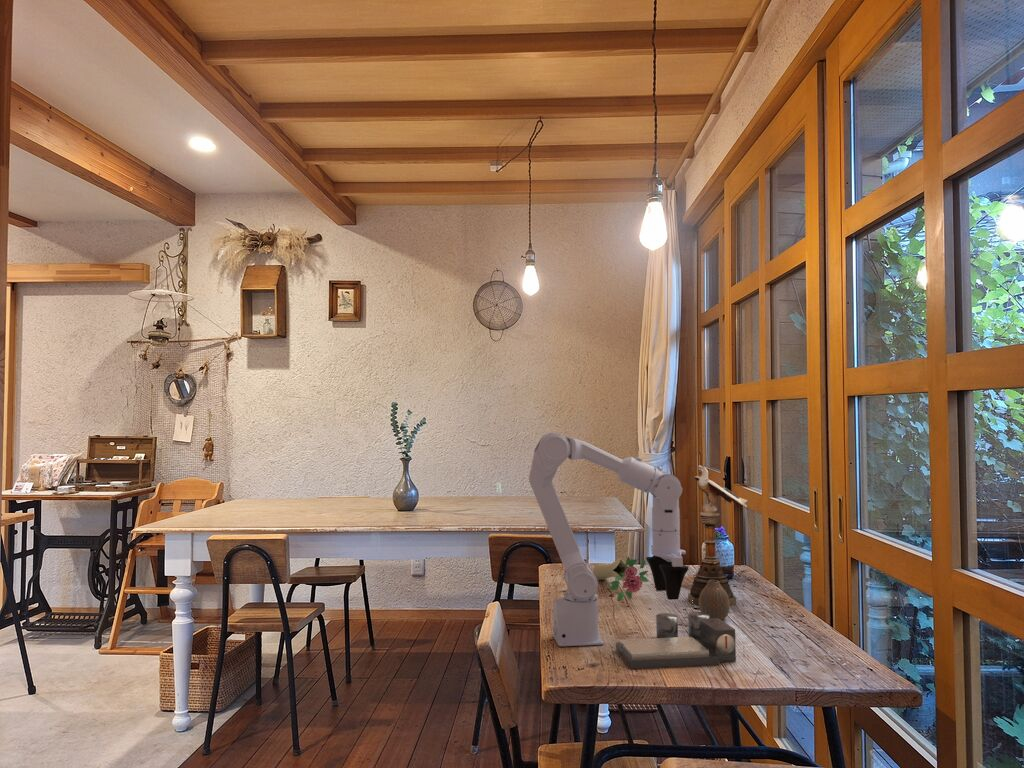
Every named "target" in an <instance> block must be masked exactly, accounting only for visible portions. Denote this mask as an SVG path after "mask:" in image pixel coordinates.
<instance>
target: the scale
mask: <svg viewBox="0 0 1024 768" xmlns="http://www.w3.org/2000/svg"><path fill="white" fill-rule="evenodd" d="M615 651H616V652H617V653H618V655H619V656H620V658H621V659H622V660H623V661H624V662H625V664H626V665H627V666H628V668H630V670H640V669H641V670H642V669H643V670H645V669H663V668H665V669H666V668H683V667H685V668H687V667H701V666H703V667H704V666H707V667H708V666H719V665H720V663H730V662H731V663H732V662H734V663H735V662H736V661H737V647H736V629H735V628H733V626H731V625H729V624H728V623H726V622H725V621H724V620H720V619H719V618H713V619H700V641H699V640H698V639H694V638H693V637H689V636H681V637H680V636H678V637H674V638H657V637H655V638H630V639H619V642H615Z"/></svg>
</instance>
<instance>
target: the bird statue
mask: <svg viewBox="0 0 1024 768" xmlns="http://www.w3.org/2000/svg"><path fill="white" fill-rule="evenodd" d="M697 469H698V470H699V471H700V472H701V475H700V476H699V475H696V476H694V477H693V478H694V480H696V481H697V486H698V487H699V489H700V490H701V492H703V493H704V494H705V495H706V500H707V501H708V502H707V503H704V504H703V506H702V507H701V509H702V511H701V512H699V516H700V517H701V518H700V523H701V524H703V525H704V526H703V528H704V533H705V535H704V541H703V542H704V544H705V556H704V557H703V558H702V559H701V561H700V562H701V564H700V566H699V568H698V571H697V573H695V576H694V577H693V582H692V585H691V588H690V591H689V592H688V593H687V594H688V595H687V600H688V599H689V600H690V601H689V600H688V601H689V602H690V604H692V602H693V604H692V605H694V604H696V605H695V606H699V597H700V594H701V592H702V590H703V589H704V587H705V586H706V585H707V583H708V581H709V580H718V581H719V583H720V585H721V586H722V588H723V589H724V590H725V591H726V593H727V595H728V598H729V602H730V607H731V606H735V605H737V596H735V595H734V593H733V591H732V589H731V585H730V583H729V582H730V580H728V578H727V577H728V576H727V575H726V574H725V573H724V571H723V569H722V567H721V561H720V559H718V558H717V556H716V544H717V543H718V542H717V540H716V527H717V525H718V524H719V522H720V521H719V520H720V519H719V518H720V516H721V513H719V512H718V507H717V503H718V499H719V498H718V497H719V496H720V497H721V498H723V499H724V500H725V501H726V502H727V503H730V504H731V503H732V502H733V503H736V504H739V505H741V506H743V508H744V509H748V506H747V503H748V502H749V501H748V500H747V499H746V498H742V497H739V496H738V495H736V494H735V493H734V492H732V491H731V490H729V489H728V488H727V487H722V486H720V485H718V484H717V483H716V482H715V481H713V480H711V479H709V477H710V475H709V471H708V469H707V467H705V466H703V465H700V464H699V465H697ZM692 600H693V601H692Z"/></svg>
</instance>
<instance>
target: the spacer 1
mask: <svg viewBox="0 0 1024 768" xmlns="http://www.w3.org/2000/svg"><path fill="white" fill-rule="evenodd" d="M655 617H656V618H655V620H656V621H655V623H656V625H655V627H656V638H674V637H679V630H678V629H679V622H678V619H679V617H678V615H677V614H675V613H671V612H670V613H669V612H660V613H657V614H656V616H655Z"/></svg>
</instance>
